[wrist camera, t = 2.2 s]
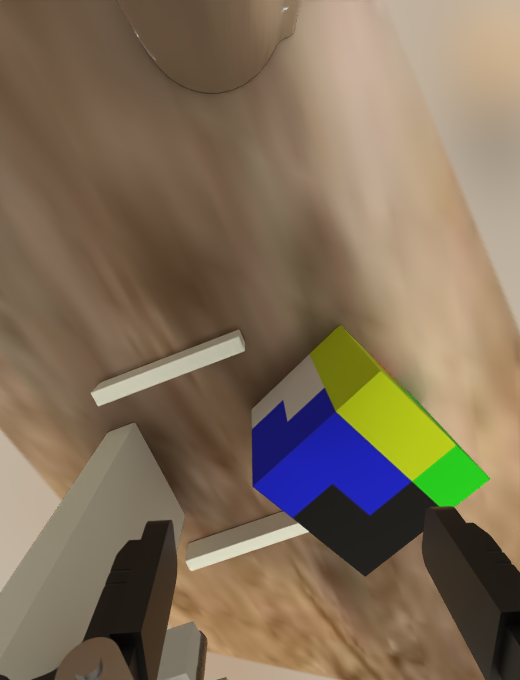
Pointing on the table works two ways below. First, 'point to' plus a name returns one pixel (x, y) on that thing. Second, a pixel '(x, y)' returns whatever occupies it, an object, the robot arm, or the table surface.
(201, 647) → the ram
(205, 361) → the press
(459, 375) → the table surface
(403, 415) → the puzzle toy
